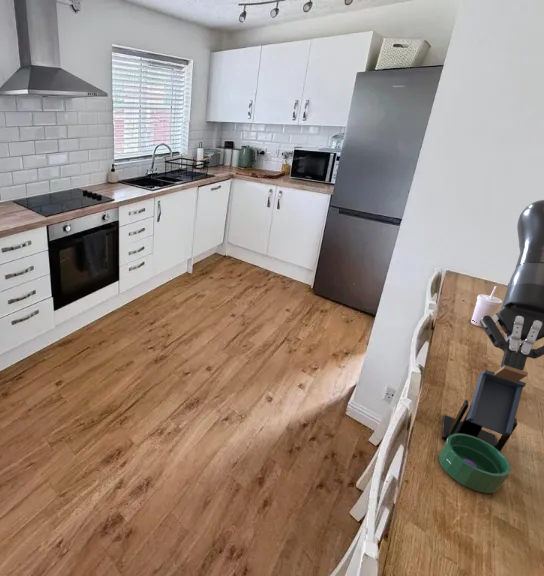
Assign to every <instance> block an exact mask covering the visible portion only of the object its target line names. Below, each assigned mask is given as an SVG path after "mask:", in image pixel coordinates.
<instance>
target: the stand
mask: <svg viewBox="0 0 544 576" xmlns="http://www.w3.org/2000/svg"><path fill="white" fill-rule="evenodd" d="M468 409H469V400H468V399H465V400H464V401H463V403H462V405H461V407H460V409H459V411H458V413H457V415H456V416H455V418H454V417H452V416H449V415H446V414H444V415H443V417H442V427H441V429H442V430H441V440H443V441H444V443H445V442H446V440H447V438H448V437H449V436H450V435H452V434H456V433H458V434H467V435H471V436H474V437H476V438H479V439H481V440H483V441H485V442H487V443H489V444H490V445H492V446H493V447H495V448H496V449H497V450H499V451H500V452H501V451H502V450H503V448H504V447H505V445H506V443H507V442H508V440H509V439H510V437H511V435H512V434H513V433H514V432H515V429H516V428H517V426H518V420H517V418H516V417H515V421H514V425H513V429H512V433H511V434H510V435H507V436H505V435H502V434H501V436H500V437H499V438H498V441H497V439H496V434H494V433H491V432H490V431H487V430H484V429H483V427H482V426H479V425H477V424H474V423H472V422H469V421H467V420H466V419H467V415H468V412H469V410H468ZM467 410H468V411H467ZM465 414H466V415H465ZM464 415H465V417H464ZM462 419H463V420H462Z"/></svg>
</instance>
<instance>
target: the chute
mask: <svg viewBox="0 0 544 576" xmlns="http://www.w3.org/2000/svg"><path fill="white" fill-rule="evenodd" d="M528 375H529V372H528V371H524V370H519V369H515V368H512V367H509V366H506V365H504V366H503V367H502V368H501V367H500V368H499V369H498V370H496V371H495V372H494V371H491V370H488V369H484V370H482V372H481V373H479V374H478V378H477V380H476V385H475V388H474V390H473V391H474V392H473V395H472V398H471V402H470V405H469V407H468V411H469V412H468V411H467V413H468V415H467V419H466V420H467V421H469V422H472V423H474V424H477V425H479V426H482V428H484V429H487V430H489V431H492V432H495V433H496V434H500V435H501V436H502V435H505V436H507V435H510V434H511V433H512V434H513V432H512V429H513V425H514V421H515V418H516V416H517V414H518V413H517V412H518V409H519V405H520V400H521V397H522V393H523V389H524V388H525V387H526V385H527V382H525V381H521V380H523V379H524V378H526V377H528ZM512 434H511V435H512Z"/></svg>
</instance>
